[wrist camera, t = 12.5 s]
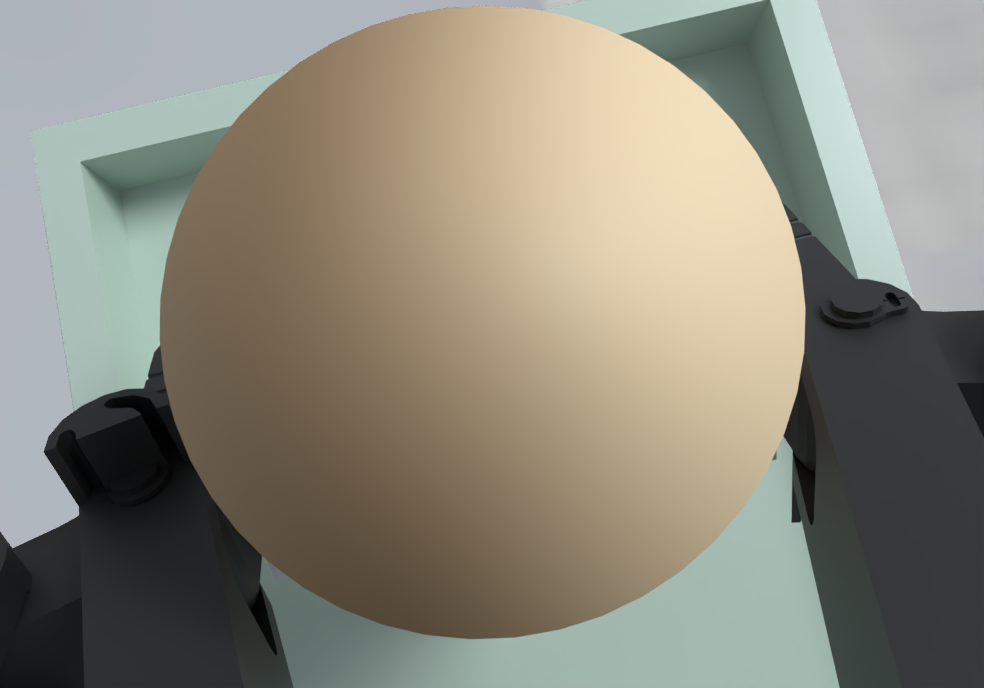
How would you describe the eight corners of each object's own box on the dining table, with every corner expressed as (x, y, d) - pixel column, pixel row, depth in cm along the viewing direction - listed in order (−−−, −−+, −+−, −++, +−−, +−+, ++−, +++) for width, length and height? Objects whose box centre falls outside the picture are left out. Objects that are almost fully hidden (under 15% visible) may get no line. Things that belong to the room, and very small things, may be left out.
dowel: (587, 284, 19) (702, -56, 7) (650, 515, 18) (891, 546, 7) (361, 339, 19) (111, 86, 7) (413, 573, 18) (225, 714, 6)
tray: (764, 18, 23) (799, -51, 20) (987, 728, 20) (1066, 766, 17) (92, 177, 23) (30, 130, 20) (215, 916, 20) (163, 988, 17)
